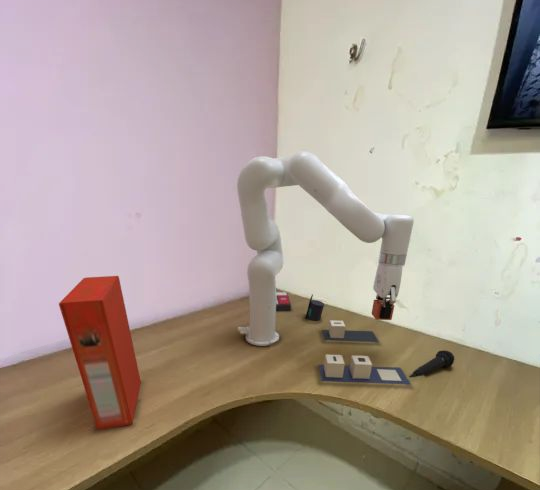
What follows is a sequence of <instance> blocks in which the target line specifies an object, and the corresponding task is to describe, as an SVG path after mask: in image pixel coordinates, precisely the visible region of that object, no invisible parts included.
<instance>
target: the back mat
mask: <svg viewBox="0 0 540 490" xmlns="http://www.w3.org/2000/svg"><path fill="white" fill-rule="evenodd" d="M321 333H322V337H323V340H324V341H334V342H358V343H359V342H364V343H379V340H378V338H377V336H376V335H375V333H374V331H371V330H346V329H345V333H344V338H330V335H329V329H321Z"/></svg>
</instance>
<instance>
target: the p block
mask: <svg viewBox="0 0 540 490" xmlns="http://www.w3.org/2000/svg"><path fill="white" fill-rule="evenodd" d="M349 366H350V372H351V375H352V377H353V378H361V379H369V378H370V373H371V368H372V367H373V363H372V361H371V359H370V357H369V355H351V357H350V364H349Z"/></svg>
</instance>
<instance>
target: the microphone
mask: <svg viewBox="0 0 540 490" xmlns="http://www.w3.org/2000/svg"><path fill="white" fill-rule="evenodd" d="M454 363H455V355H454V354H453V353H452V352H451V351H449V350H445V349H443V350H439V351H437V352H436V354H435V357H434V358H432V359H430V360H429V361H427V362H425V363H424V364H423V365H421V366H419V367H418V368H417V369H415V370H414V371H413V372H412V373H411V374H410V375H409V376H408V378H415V377H421V376H425V375H427V374H429V373H433V372H434V371H436V370H438V369H440V368H442V367H443V368H451V367H452V366H453V364H454Z"/></svg>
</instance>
